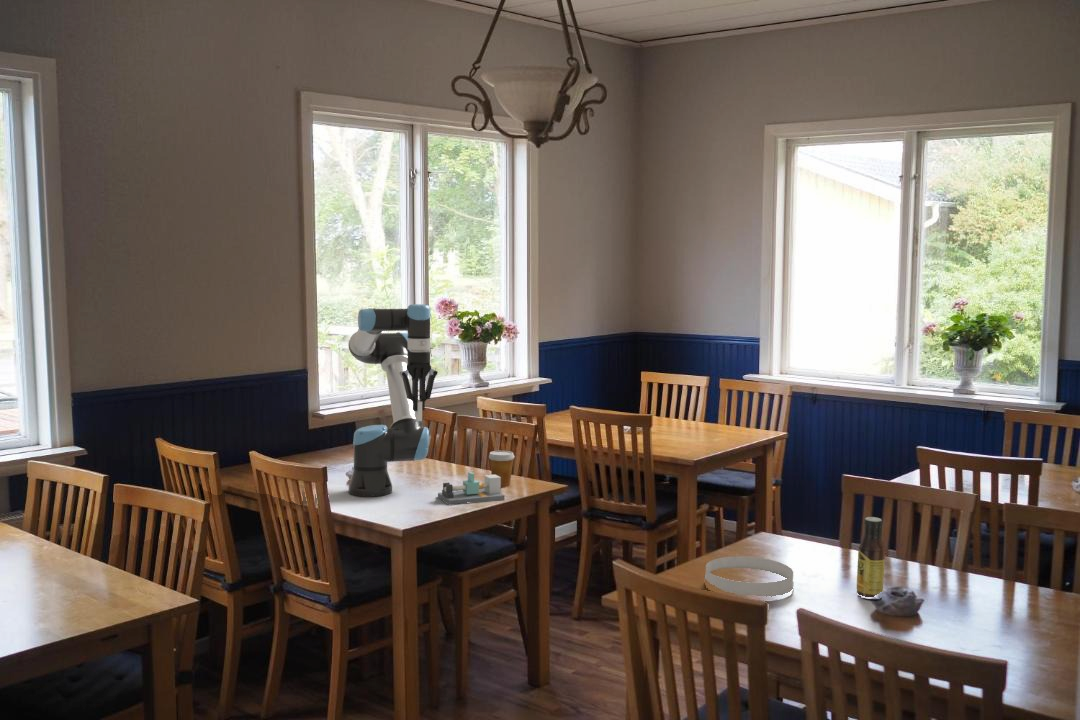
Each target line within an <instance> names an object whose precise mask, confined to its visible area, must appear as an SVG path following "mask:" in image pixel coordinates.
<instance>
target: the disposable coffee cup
mask: <svg viewBox="0 0 1080 720" xmlns="http://www.w3.org/2000/svg"><path fill="white" fill-rule="evenodd" d="M488 458H489V465H490V472H491V474H490V475H497V476H499V477H501V488H504V487H505V486H507V487H509V485H511V478H512V472H513V471H512V470H513V464H514V459H515V455H514V452H512V451H510V450H509V451H508V450H493V451H490V452H489V455H488ZM505 488H506V487H505Z"/></svg>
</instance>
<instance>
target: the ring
mask: <svg viewBox="0 0 1080 720" xmlns="http://www.w3.org/2000/svg"><path fill="white" fill-rule="evenodd" d="M724 568H751V569H760V570H765V571H770V572H772V573H776V574H779V575H781V576H783V577H785V578H787V579H785V580H782V581H777V582H768V583H750V582H741V581H734V580H729V579H725V578H722V577H719V576H716V575H714V574H712V573H710V572H711V571H713V570H717V569H724ZM705 579H706V580H707V581H708V582H709V583H710V584H712V585H715V587H717V588H719V589H721V590H723V591H725V592H730V593H735V594H737V595H756V596H766V597H767V596H771V597H772V596H776V595H783V594H785V593H788V592H790V591H791V590H792V589H793V590H794V588H793V586H794V585H795V584H794V571H793V569H792V568H791V567H790V566H789V565H787V564H785V563H782V562H780V561H775V560H772V559H768V558H763V557H762V558H761V557H755V556H742V555H741V556H739V555H738V556H737V555H736V556H726V557H725V556H724V557H720V558H719V557H718V558H715V559H711V560H710V561H708V562H707V563H706V565H705V576H704V580H705ZM794 587H795V586H794Z"/></svg>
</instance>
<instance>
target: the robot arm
mask: <svg viewBox="0 0 1080 720" xmlns="http://www.w3.org/2000/svg"><path fill="white" fill-rule="evenodd" d="M357 326H358V330H357V331H356V332H354V333H353V334H352V335H351V336H350V339H349V340H348V350H349V353H350V354H351V356H353V357H354V358H355V359H356V360H358V361H360V362H362V363H364V364H369V365H380V366H381V370H382V371H384V372H386V373H385V375H386V379H387V386H388V393H389V400H390V407H391V414H392V421H393V422H392V423H391V425H390V426H389V427H390V428H388V427H387V425H385V424H373V425H366V426H362V427H360V428H358V429H356V430H355V431H354V433H353V439H352V440H353V442H352V445H353V472H352V476H351V478H350V482H349V484H348V494H350V495H351V496H355V497H366V498H367V497H368V498H369V497H370V498H371V497H373V498H374V497H382V496H386V495H390V494H391V493H392V492H393V484H392V481H391V478H390V475H389V474H390V473H389V471H388V463H391V462H392V463H396V462H411V461H412V462H415V461H423V460H425V459H426V458H427V455H428V452H429V447H430V430H429V428H428V427H426V426H423V411H425V409H426V408H425V407H426V405H425V404H426V403H425V402H427V401H428V400H430V399H431V396H432V392H433V391H432V390H433V386H434V383H435V378H436V377H437V375H438V373H439V372H438V371H437V370H435V369H433V368H432V366H431V351H430V350H431V307H430V305H428V304H421V303H417V304H416V303H415V304H409V305H408V306H407V308H362V309H359V311H358V314H357ZM394 331H397V332H394ZM403 331H405V332H403ZM406 331H407V333H406ZM382 332H383V333H382ZM387 332H388V333H387ZM389 332H390V333H389ZM427 376H428V378H427ZM427 379H428V380H427ZM426 381H427V383H426Z"/></svg>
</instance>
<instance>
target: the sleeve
mask: <svg viewBox="0 0 1080 720" xmlns="http://www.w3.org/2000/svg"><path fill="white" fill-rule="evenodd" d="M479 483H480V481H479V480H476V479H475V473H474V472H472V471H467V479H466V480H464V479H463V480H462V485H466V490H462V491H463V492H464V493H465V494H467V495H469V494H479Z"/></svg>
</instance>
